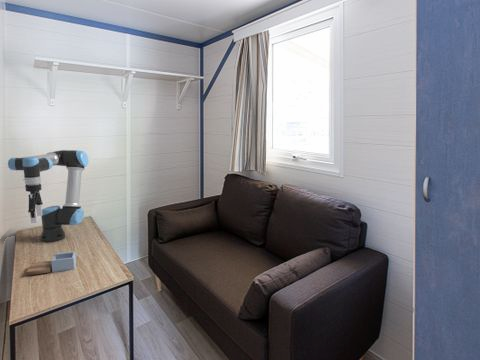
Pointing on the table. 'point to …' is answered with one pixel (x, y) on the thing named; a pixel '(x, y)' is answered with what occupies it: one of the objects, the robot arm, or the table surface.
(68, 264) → the slide box
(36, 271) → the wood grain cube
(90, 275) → the table surface
